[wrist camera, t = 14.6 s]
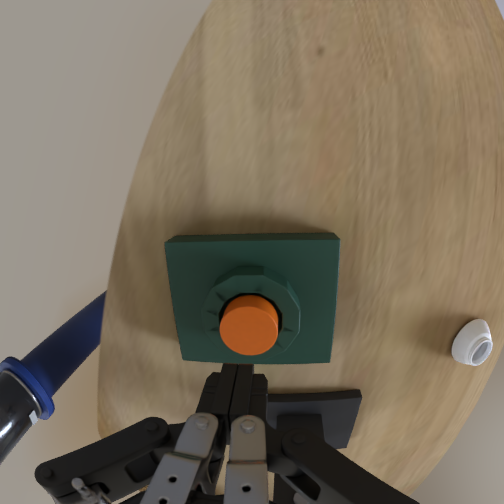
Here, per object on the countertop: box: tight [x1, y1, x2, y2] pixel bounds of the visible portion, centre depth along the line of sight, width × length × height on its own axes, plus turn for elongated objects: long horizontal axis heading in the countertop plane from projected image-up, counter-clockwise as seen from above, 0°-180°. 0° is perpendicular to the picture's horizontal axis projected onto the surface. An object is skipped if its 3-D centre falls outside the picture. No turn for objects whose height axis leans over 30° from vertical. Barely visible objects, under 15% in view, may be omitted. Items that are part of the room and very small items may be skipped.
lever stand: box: [267, 390, 362, 504], centre depth 20 cm, size 12×9×13 cm
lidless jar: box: [452, 319, 492, 366], centre depth 20 cm, size 5×3×5 cm
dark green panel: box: [165, 233, 340, 364], centre depth 20 cm, size 12×10×4 cm
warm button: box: [220, 295, 278, 355], centre depth 18 cm, size 4×4×2 cm
